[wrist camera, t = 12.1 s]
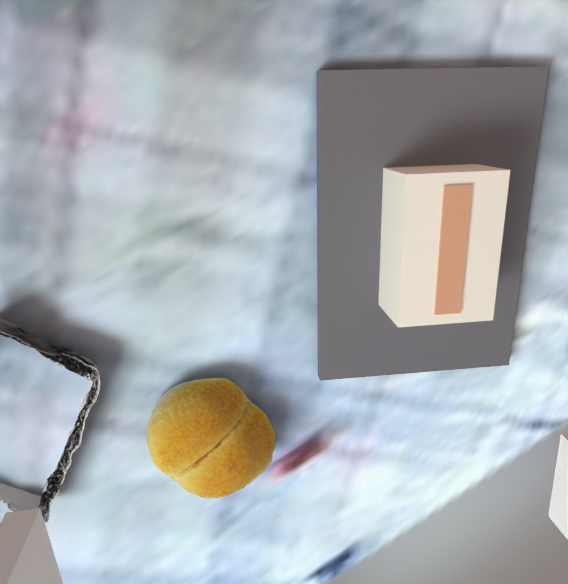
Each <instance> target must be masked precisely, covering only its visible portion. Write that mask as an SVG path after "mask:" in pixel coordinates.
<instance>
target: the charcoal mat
mask: <svg viewBox="0 0 568 584" xmlns="http://www.w3.org/2000/svg"><path fill="white" fill-rule="evenodd" d="M548 69H549V66H535V67H477V68H419V69H360V70H319V71H317V260H318V376H319V379H320V380H330V379H343V378H355V377H367V376H379V375H392V374H404V373H416V372H428V371H441V370H453V369H465V368H477V367H490V366H502V365H509V360H510V352H511V345H512V337H513V330H514V322H515V315H516V308H517V300H518V293H519V285H520V278H521V270H522V263H523V255H524V248H525V241H526V233H527V226H528V218H529V211H530V203H531V196H532V188H533V181H534V174H535V166H536V159H537V151H538V144H539V136H540V129H541V121H542V114H543V107H544V99H545V92H546V84H547V77H548ZM463 164H479V165H485V166H491V167H496V168H502V169H508V170H510V177H509V186H508V195H507V203H506V212H505V221H504V229H503V238H502V247H501V255H500V264H499V273H498V281H497V290H496V299H495V307H494V316H493V320H491V321H478V322H464V323H451V324H438V325H425V326H411V327H397V326H396V324H395V323H394V322H393V321H392V320H391V319H390V317H389V316H388V315H387V314H386V313H385V312H384V310H383V309H382V308H381V307H380V306H379V305H378V304H379V275H380V246H381V217H382V188H383V168H391V167H415V166H439V165H463Z"/></svg>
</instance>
